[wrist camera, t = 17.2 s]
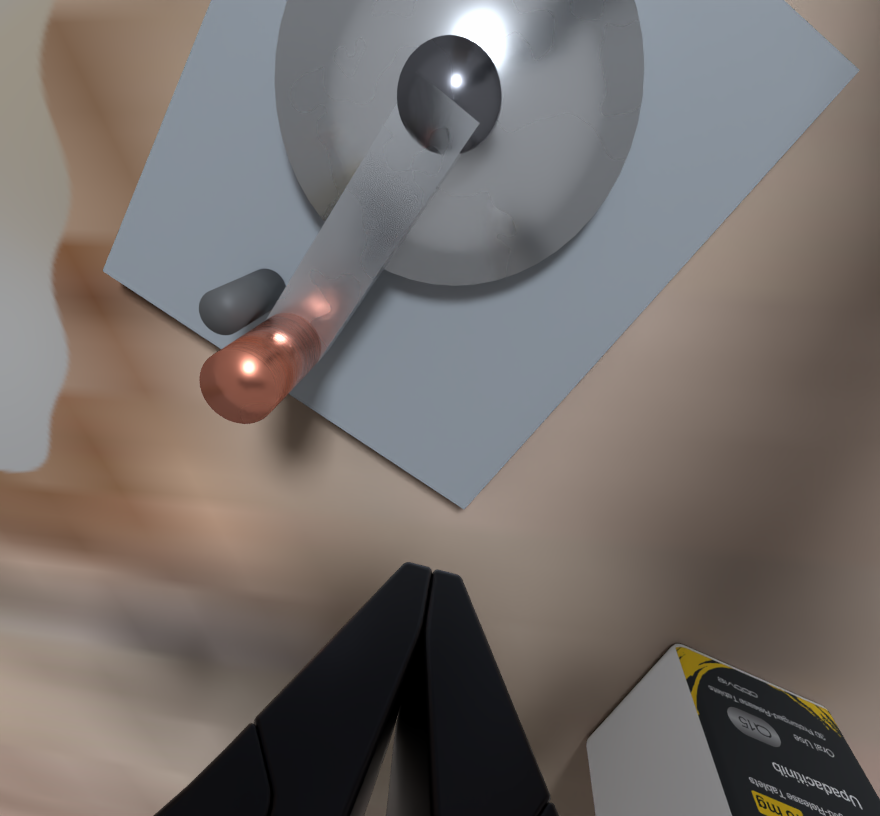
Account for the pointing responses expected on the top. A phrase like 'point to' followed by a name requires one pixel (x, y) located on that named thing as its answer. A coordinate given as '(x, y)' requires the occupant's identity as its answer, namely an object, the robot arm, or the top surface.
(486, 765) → the robot arm
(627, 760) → the medicine bottle
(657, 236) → the crank plate
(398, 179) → the crank
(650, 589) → the top surface
